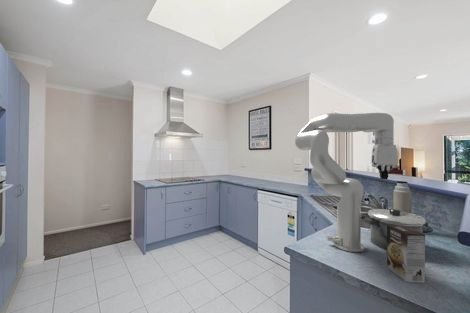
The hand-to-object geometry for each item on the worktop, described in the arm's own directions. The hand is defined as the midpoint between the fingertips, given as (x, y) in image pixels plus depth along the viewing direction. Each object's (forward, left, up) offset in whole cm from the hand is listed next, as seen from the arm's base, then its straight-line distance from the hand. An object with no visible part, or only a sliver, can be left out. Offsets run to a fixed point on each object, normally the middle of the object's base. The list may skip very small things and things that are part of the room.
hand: (383, 178), depth 99 cm
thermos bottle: (+23, +18, -31) cm, 43 cm away
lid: (+2, -4, -18) cm, 19 cm away
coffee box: (-13, -30, -31) cm, 45 cm away
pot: (+2, -5, -31) cm, 31 cm away
